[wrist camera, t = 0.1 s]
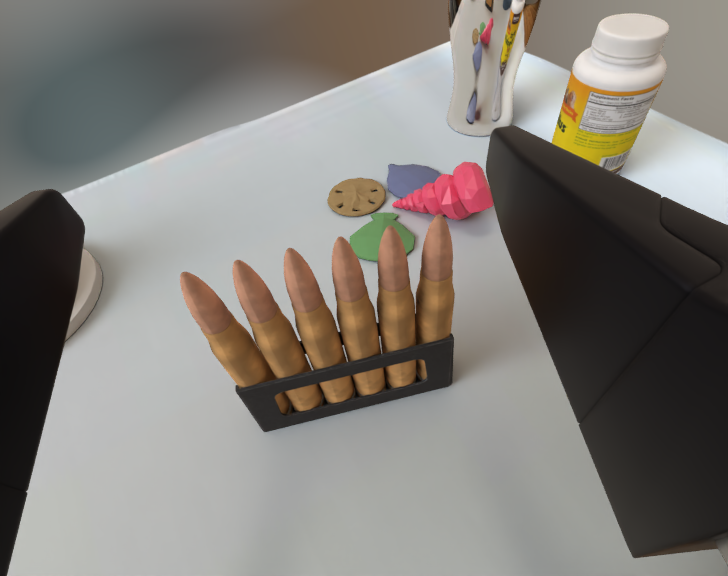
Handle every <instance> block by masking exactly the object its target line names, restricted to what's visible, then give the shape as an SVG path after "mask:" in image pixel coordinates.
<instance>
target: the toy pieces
mask: <svg viewBox="0 0 728 576" xmlns="http://www.w3.org/2000/svg"><path fill="white" fill-rule="evenodd" d="M388 168H389V174H388V178H387V183H388V190H389V191H391V192H392V193H393V194H394V195H395V196H397V197H402V198H403V199H399V201H396V202H394V203H393V204H392V206H393V207H396V208H400V209H401V208H402V209H406V210H410V209H411V211H415V212H417V211H419V212H421V213H428V212H429V213H431V214H433V215H435V216H436V215H438V214H441V215H442V216H443V215H445V214H446V216H447V217H448V218H450V219H454V220H460V219H464V218H467V217H468V216H469V215H470V214H471V213H474V212H479V211H483V210H485V209H487V208H490V207H492V206H493V203H494V202H493V198H492V194H491V190H490V188H489V186H488V183H487V180H486V178H485V175H484V172H483V170H482V168H481V167H480V166H479V165H478V164H477V163H472V162H463V163H462V164H460V165H459V166H457V167H456V168H455V170H454V171H453V176H452V175H448V174H442V175H441V176H440V173H439V172H438V171H436V170H434V169H432V168H429V167H427V166H421V165H415V164H411V165H400V166H398V165H395V164H390V165H388ZM376 189H377V190H378V191H376V192H372V191H373V190H376ZM337 191H342V193H336V192H337ZM385 197H386V196H385V190H384V188H383V187H382V185H380V184H379V183H378V182H376V181H374V180H372V179H363V178H356V179H348V180H345V181H342V182H341V183H339V184H338V185H336V186H334V187H333V189H332V190H331V191H330V193H329V197H328V204H329V206H330V208H331V209H332V210H334V211H335V212H337V213H338V214H341V215H345V216H361V215H365V214H369V213H371V212H373V211H375V210H376V209H377V208H379V207H380V205H381V204H382V203H383V202H384V200H385ZM370 202H375V204H374V205H373V204H371V203H370ZM341 205H344V206H343V207H341V208H338V207H339V206H341ZM353 209H355V210H359V211H353ZM371 217H372V218H373V219H374V220H373V221H371V222H370V223H368V224H366V225H364V226H363V227H362V228H361V229H359V230H358V231H357V232H355V233H354V234H353V235H352V236H350V245H351V247H352V249H353V250H354V252H355V254H356V256H357V257H358V258H361V259H366V260H370V261H378V252H379V246H380V242H381V238H382V236H383V233H384V231H385V229H386V228H387V227H388V226H389V225H391V226H393V227H394V228H395V229H396V231H397V232H398V234H399V235H400V237H401V240H402V242H403V245H404V248H405V251H406V254H408V253H409V252H410V251H412V250H413V246H414V239H415V236H414V235H413V234H412V233H410V232H409V231H408V230H407V229H406V228H405V227H404V226H403V225H401V224H400V223H398V222H396V221H395V219H396V218H397V217H398V215H397V214H394V213H375V214H373V215H371Z"/></svg>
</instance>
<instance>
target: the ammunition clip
mask: <svg viewBox="0 0 728 576" xmlns="http://www.w3.org/2000/svg"><path fill="white" fill-rule="evenodd" d="M452 262H453V251H452V241H451V236H450V232H449V228H448V225H447V222H446V220H445V219H444V217H443V216H442V215H441V214H438V215H436V217H435V218H434V219H433V221H432V222H431V224H430V226H429V229H428V232H427V235H426V238H425V241H424V246H423V251H422V263H421V270H420V281H419V284H418V288H417V291H416V314H415V303H414V297H413V294H412V291H411V287H410V278H409V269H408V262H407V256H406V251H405V248H404V245H403V242H402V240H401V237H400V235H399V234H398V232H397V231H396V229H395V228H394V227H393V226H391V225H389V226H388V227H387V228H386V229H385V231H384V233H383V236H382V238H381V242H380V246H379V252H378V276H379V279H378V287H379V292H378V297H377V312H378V320H379V323H376V317H375V310H374V307H373V305H372V303H371V301H370V299H369V296H368V291H367V287H366V285H365V280H364V275H363V271H362V268H361V265H360V262H359V260H358V258H357V256H356V254H355V252H354V250H353V249H352V247H351V245H350V244H349V243H348V241H347V240H346V239H344V238H343V237H338V238H337V240H336V242H335V244H334V248H333V254H332V275H333V283H334V287H335V295H336V301H337V320H338V324H339V328H340V332H338V330H337V326H336V323H335V320H334V317H333V315H332V313H331V311H330V309H329V308H328V307H327V305H326V303H325V300H324V298H323V295H322V293H321V291H320V288H319V285H318V283H317V281H316V278H315V276H314V274H313V272H312V270H311V269H310V267H309V265H308V264H307V262H306V261H305V260H304V259H303V257H302V256H301V255H300V254H299V253H298V252H297V251H295V250H294V249H292V248H288V249H287V250H286V253H285V257H284V277H285V282H286V287H287V291H288V294H289V297H290V299H291V302H292V307H293V310H294V313H295V321H296V328H297V331H298V333H299V336H300V338H301V341H299V340H298V338H297V336H296V334H295V332H294V329H293V327H292V325H291V323H290V321H289V320H288V319H287V318H286V317H285V316H284V315H283V314H282V312H281V310H280V308H279V306H278V304H277V303H276V302H275V300H274V298H273V296H272V294H271V292H270V290H269V289H268V287H267V286H266V284H265V283H264V281H263V280H262V279H261V278H260V276H259V275H258V274H257V273H256V272H255V271H254V270H253V269H252V268H251V267H250V266H249V265H247V264H246V263H244V262H243V261H241V260H236V261H235V262H234V265H233V279H234V285H235V289H236V292H237V296H238V298H239V301H240V304H241V306H242V308H243V310H244V312H245V314H246V316H247V319H248V321H249V323H250V325H251V327H252V331H253V335H254V339H255V342H256V343H255V342H254V340H253V339H252V337H251V335H250V334H249V332H248V331H247V330H246V329H245V328H244V327H243V326H242V325H241V324H240V323H238V322H237V320H236V319H235V318H234V316H233V315H232V313H231V312H230V311H229V310H228V309H227V307H226V306H225V304H224V303H223V301H222V300H221V299H220V298H219V297H218V296H217V294H216V293H215V292H214V291H213V290H212V289H211V288H210V287H209V286H208V285H207V284H206V283H205V282H203V281H202V280H201V279H199V278H198V277H196V276H195V275H193V274H191V273H188V272H182V273H181V276H180V283H181V289H182V292H183V296H184V299H185V302H186V304H187V306H188V308H189V310H190V312H191V314H192V316H193V318H194V319H195V320H196V322H197V323H198V325H199V326H200V327H201V330H202V332H203V333H204V335H205V336H206V338H207V339H208V341H209V344H210V347H211V350H212V352H213V354H214V355H215V356H216V358H217V359H218V360H219V361H220V363H221V364H222V365H223V367H224V368H225V369H226V371H227V372H228V373H229V374H230V376H231V377H232V378H233V380H234V381H235V382H236V384H237V385H236V392H237V394H238V395H239V397H240V398H241V400H242V401H243V402H244V404H245V405H246V407H247V408H248V410H249V411H250V413H251V414H252V416H253V417H254V418H255V420H256V421H257V423H258V424H259V426H260V427H261V429H262V430H263V431H264V432H267V431H271V430H275V429H279V428H283V427H287V426H291V425H295V424H299V423H303V422H307V421H311V420H315V419H319V418H323V417H327V416H331V415H335V414H339V413H343V412H347V411H351V410H355V409H359V408H363V407H367V406H371V405H375V404H379V403H383V402H387V401H391V400H395V399H399V398H403V397H407V396H412V395H416V394H420V393H424V392H428V391H432V390H436V389H440V388H444V387H448V386H449V385H451V383H452V372H453V347H454V337H453V335H452V333H451V325H452V315H453V306H454V289H453V284H452V276H453V270H452ZM379 336H381V344H382V353H383V354H381V349H380V343H379ZM256 344H257V345H256ZM342 345H344V347H345V351H346V354H347V358H348V362H347V360H346V357H345V354H344V350H343V347H342ZM257 346H258V347H259V348H258V347H257ZM259 349H260V350H259ZM305 354H307V355H308V358H309V360H310V362H311V365H312V367H313V371H312V369H311V367H310V365H309V363H308V361H307V358H306V356H305ZM239 387H240V388H239Z"/></svg>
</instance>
